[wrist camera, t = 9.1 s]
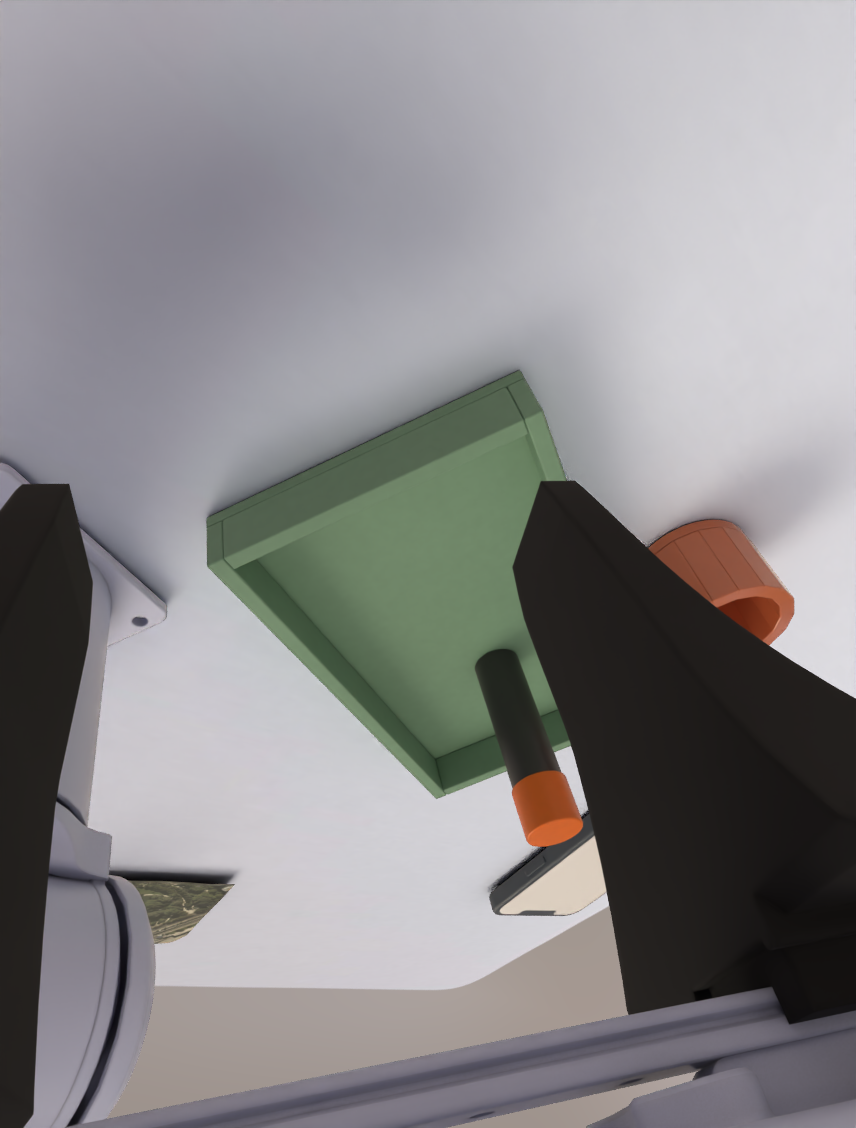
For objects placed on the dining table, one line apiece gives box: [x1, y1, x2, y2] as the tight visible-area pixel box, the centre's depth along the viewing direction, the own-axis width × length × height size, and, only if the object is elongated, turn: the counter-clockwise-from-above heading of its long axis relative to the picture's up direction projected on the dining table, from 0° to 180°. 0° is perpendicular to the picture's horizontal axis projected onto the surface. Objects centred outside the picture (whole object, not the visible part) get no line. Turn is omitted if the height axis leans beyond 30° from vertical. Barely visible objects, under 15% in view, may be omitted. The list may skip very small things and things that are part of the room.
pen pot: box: [648, 520, 794, 645], centre depth 30 cm, size 5×5×4 cm
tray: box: [207, 371, 571, 799], centre depth 30 cm, size 11×20×2 cm, turn 23°
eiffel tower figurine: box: [129, 881, 235, 944], centre depth 38 cm, size 15×10×13 cm
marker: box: [475, 649, 583, 847], centre depth 30 cm, size 2×2×8 cm
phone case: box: [489, 814, 607, 916], centre depth 51 cm, size 9×2×16 cm
